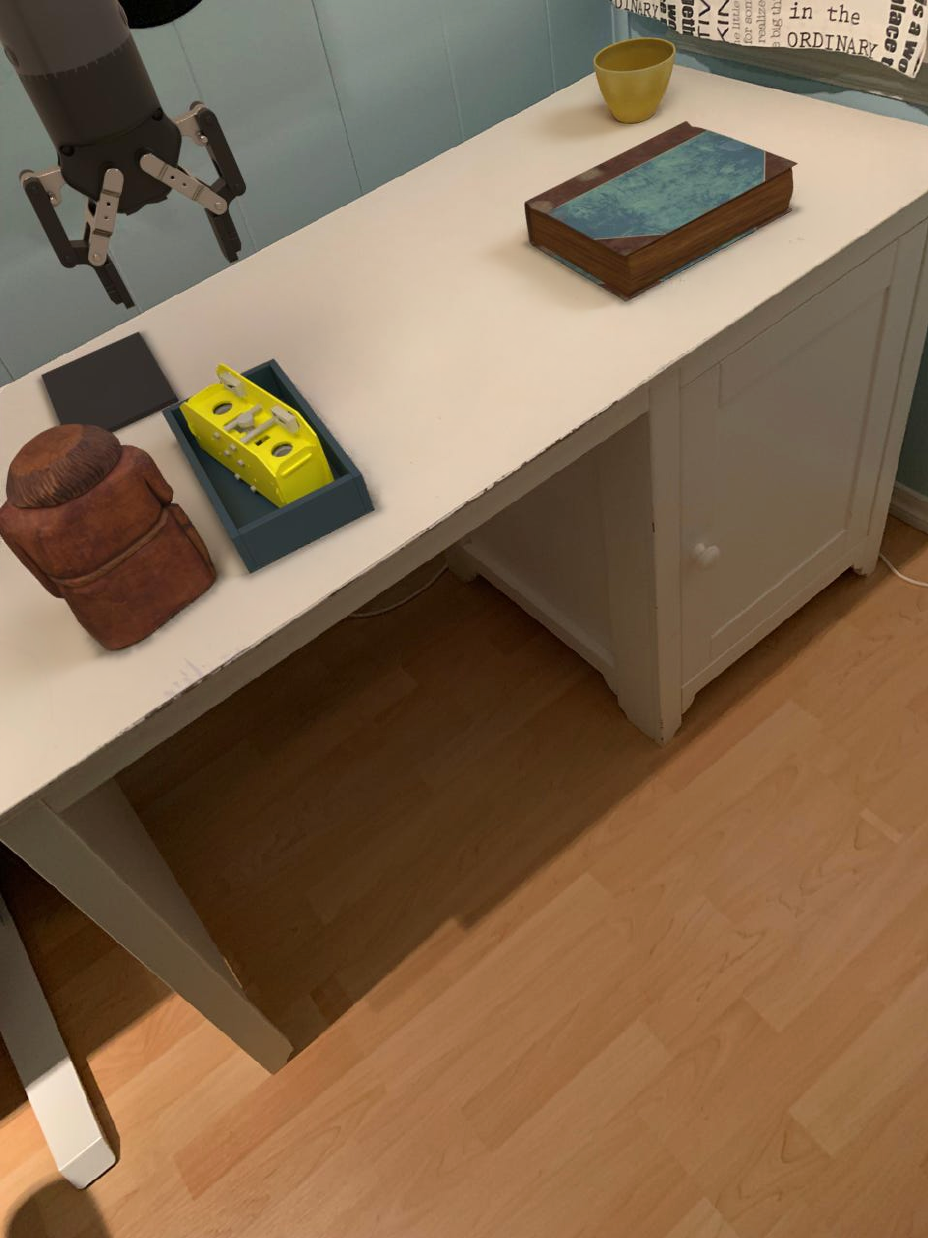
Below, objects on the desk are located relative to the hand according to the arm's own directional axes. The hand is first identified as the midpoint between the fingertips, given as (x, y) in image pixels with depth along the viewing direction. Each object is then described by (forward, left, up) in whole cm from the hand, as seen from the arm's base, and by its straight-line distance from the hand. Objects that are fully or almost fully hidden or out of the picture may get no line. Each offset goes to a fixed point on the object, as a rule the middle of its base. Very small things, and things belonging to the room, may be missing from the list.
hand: (180, 280), depth 67 cm
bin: (0, 0, -20) cm, 20 cm away
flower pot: (+66, +34, -20) cm, 77 cm away
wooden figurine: (-14, -9, -20) cm, 26 cm away
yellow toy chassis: (0, 0, -20) cm, 20 cm away
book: (+51, +9, -20) cm, 56 cm away
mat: (-10, +26, -20) cm, 34 cm away
